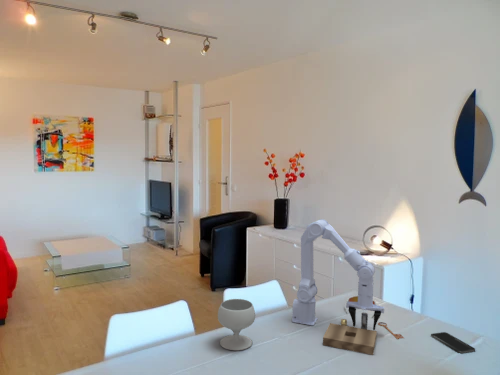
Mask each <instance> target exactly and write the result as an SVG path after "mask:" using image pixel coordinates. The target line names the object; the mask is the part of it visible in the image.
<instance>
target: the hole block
mask: <svg viewBox="0 0 500 375" xmlns="http://www.w3.org/2000/svg"><path fill="white" fill-rule="evenodd" d="M377 332H378V331H377V330H373V329H368V328H367V329H362V328H361V327H357V326H355V327H354V326H349V325H347V326H344V325H341V324H337V323H332V322H330V323H329V324H328V326H327V329H326V331H325V333H324V335H323V336H322V346H325V347H330V348H336V349H340V350H345V351H349V352H357V353H361V354H364V355H365V354H366V355H372V356H373V355H374V352H375V347H376V342H377V334H378V333H377Z"/></svg>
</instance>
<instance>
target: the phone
mask: <svg viewBox="0 0 500 375" xmlns="http://www.w3.org/2000/svg"><path fill="white" fill-rule="evenodd" d="M430 337H431V338H432V339H434V340H435V341H437V342H438V343H441V344H442V345H443V346H445V347H447V348H448V349H451V350H452V351H454V352H455V353H456V354H459V353H460V354H462V355H463V354H469V353H474V352H476V348H475V347H473V346H471V345H469V344H468V343H466V342H464V341H462V340H461V339H459V338H457V337H455V336H454V335H452V334H450V333H448V332H446V331H441V332H434V333H431V334H430Z"/></svg>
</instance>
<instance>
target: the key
mask: <svg viewBox="0 0 500 375" xmlns="http://www.w3.org/2000/svg"><path fill="white" fill-rule="evenodd" d="M377 324H378V326H380V327H383V328H385V329H386V330H387V332H389V333H390V334H391V335H392V336H393V337H394V338H395V339H396V340H400V339H404V336H403V335H402V334H401V333H394V332H393V331H391V329H389V327H388V324H387V323H385V322H381V321H379V322H377Z"/></svg>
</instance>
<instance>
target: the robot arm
mask: <svg viewBox="0 0 500 375" xmlns="http://www.w3.org/2000/svg"><path fill="white" fill-rule="evenodd" d="M320 237H321V239H324V240H329V241H331V243H333V244H334V245H335V246H336V247H337V249H339V251H341V252H342V253H343V256H344V260H345V261H346V262H347V263H348V264H349V265H350V266H351V267H352V268H353V269H354V270H355V271H356V273H357V274H356V275H357V276H358V284H357V285H358V286H357V287H358V288H357V289H358V290H357V295H358V302H348V301H347V300H346V301H347V302H346V301H345V303H346V309H348V311H347V312H348V314H349V316H350V317H351V318H350V319H351V322H352V327H356V323H357V322H356V320H357V318H356V317H357V316H356V314H357V310H363V311H371V312H373V315H374V316H373V324H372V330H373V331H376V326H377V324H378V320H379V319H380V318H381V315H382V314H384V313H385V306H383V305H382V306H381V305H378V304H377V305H374V304H373V300H374V275H375V272H376V269H375V266H374V265H373V263H371V262H370V261H368V260H366V259H365V258H364V257H363V256H362V254H361V251H360V250H359V249H358V250H357V249H356V248H351V247H350V246H349V245H348V244H347V242H345V240H344V239H343V238H342V236H340V234H339V233H338V232H337V231H336V229H335V228H334V227H333V226H332V224H329V221H328V220H326V219H325V218H319V219H318V220H316V221H313V222H311V223H309V224H308V225H307V226H306V228H305V230H304V231H303V233H302V234H301V237H300V274H301V277H300V282H299V283H298V290H297V292H296V297H297V298H294V299H293V302H292V312H291V313H292V314H291V315H292V316H291V317H292V318H291V319H292V320H291V322H292V323H296V324H302V325H303V324H304V325H308V326H315V324H316V322H317V321H318V317H316V302H317V301H316V297H315V296H317V294H318V286H317V284H316V279H315V277H314V276H315V274H314V241H316V240H317V239H318V238H320Z"/></svg>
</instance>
